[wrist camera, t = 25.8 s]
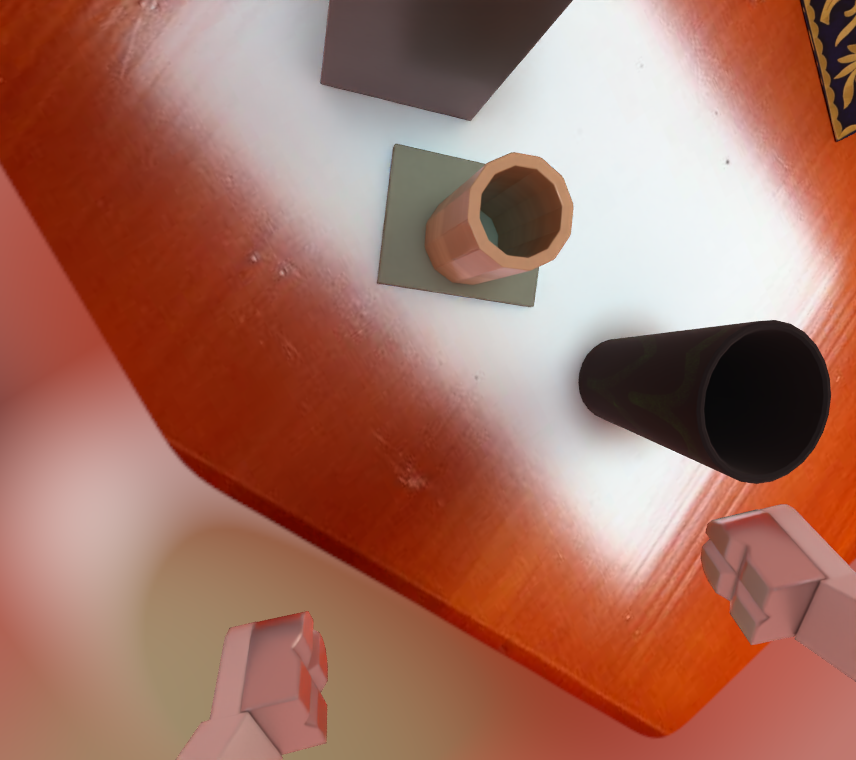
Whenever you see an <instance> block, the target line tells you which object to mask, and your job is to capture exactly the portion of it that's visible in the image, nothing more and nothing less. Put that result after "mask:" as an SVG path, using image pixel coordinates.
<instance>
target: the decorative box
mask: <svg viewBox="0 0 856 760" xmlns="http://www.w3.org/2000/svg"><path fill="white" fill-rule="evenodd" d="M801 4H802V7H803V11H804V15H805V19H806V23H807V27H808V31H809V35H810V39H811V43H812V47H813V51H814V55H815V59H816V63H817V67H818V71H819V74H820V78H821V82H822V86H823V90H824V94H825V98H826V102H827V106H828V110H829V114H830V118H831V122H832V126H833V130H834V134H835V138H836V141H837V142H838V141H840V140H842V139H844V138H846V137H848V136H850V135H852V134H854V133H856V0H801Z"/></svg>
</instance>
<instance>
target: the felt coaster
mask: <svg viewBox="0 0 856 760" xmlns="http://www.w3.org/2000/svg"><path fill="white" fill-rule="evenodd" d="M485 165H486V164H483V163H479V162H474V161H470V160H465V159H461V158H457V157H452V156H448V155H443V154H439V153H434V152H430V151H426V150H421V149H417V148H412V147H408V146H403V145H399V144H395V145H394V147H393V154H392V162H391V170H390V179H389V187H388V196H387V204H386V213H385V221H384V229H383V238H382V246H381V255H380V263H379V271H378V280H377V283H379V284H386V285H392V286H399V287H405V288H412V289H418V290H424V291H431V292H437V293H444V294H450V295H457V296H463V297H470V298H476V299H483V300H489V301H496V302H502V303H508V304H515V305H521V306H528V307H532V306H534V299H535V292H536V285H537V278H538V270H539V267H537V268H535V269H533V270H531V271H527V272H523V273H519V274H515V275H511V276H507V277H503V278H499V279H495V280H491V281H487V282H483V283H479V284H475V285H470V284H461V283H453V282H451V281H450V280H448V279H447V278H446V277H444V276H443V275H442V274H440V273H439V272H438V271H436V270H435V269H434V267H433V265H432V263H431V260H430V258H429V256H428V254H427V251H426V249H425V234H426V224H427V221H428V220H429V218H430V217H431V215H432V214H433V212H434V211H435V210H436V208H437V207H438V205H439V204H440V203H441V202H443V201H444V200H445V199H446V198H447V197H448V196H450V195H451V194H452V193H453V192H454V191H455V190H457V189H458V188H459V187H460V186H461V185H462V184H464V183H465V182H466V181H467V180H468V179H469V178H471V177H472V176H473V175H474V174H475V173H476V172H478V171H479V170H480V169H481V168H482V167H483V166H485ZM480 221H481V223H482V225H483V228H484V230H485V233H486V235H487V237H488V240H489V241H490V242H491V243H493V244H494V245H495V246H496V247H498V237H499V236H498V233H497V231H496V228H495V226H494V223H493V221H492V219H491V218H490V217H489V216H487V215H486V214H485V213H484V212H482V211H481V210H480Z"/></svg>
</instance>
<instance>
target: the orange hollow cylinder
mask: <svg viewBox="0 0 856 760" xmlns="http://www.w3.org/2000/svg"><path fill="white" fill-rule="evenodd" d="M480 210H481V211H482V212H484V213H485V214H486V215H487V216H489V217H490V218H491V219H492V221H493V223H494V226H495V228H496V231H497V233H498V236H499V237H498V247H496V246H495V245H494V244H493V243H491V242H490V241H489V240H488V237H487V235H486V233H485V230H484V228H483V225H482V223H481V221H480ZM572 216H573V202H572V200H571V197H570V194H569V192H568V189H567V186H566V184H565V181H564V178H563V177H562V176H561V175H560V174H559V173H558V172H557V171H556V170H555V169H554V168H552V167H551V166H550V165H549V164H548V163H547V162H546V161H545V160H543V159H542V158H540V157H537V156H531V155H526V154H520V153H515V152H513V153H509V154H507V155H505V156H502V157H500V158H498V159H495V160H493V161H491V162H488V163H487V164H486V165H485V166H483V167H482V168H481V169H480V170H479V171H478V172H476V173H475V174H474V175H473V176H472V177H471V178H469V179H468V180H467V181H466V182H465V183H464V184H462V185H461V186H460V187H459V188H458V189H457V190H455V191H454V192H453V193H452V194H451V195H450V196H448V197H447V198H446V199H445V200H444V201H443V202H441V203H440V204H439V205H438V207H437V208H436V210H435V211H434V212H433V214H432V215H431V217H430V218H429V220H428V221H427V224H426V234H425V249H426V251H427V254H428V256H429V258H430V260H431V263H432V265H433V267H434V269H435V270H436V271H438V272H439V273H440V274H442V275H443V276H444V277H446V278H447V279H448V280H450V281H451V282H453V283H461V284H470V285H475V284H479V283H483V282H487V281H491V280H495V279H499V278H503V277H507V276H511V275H515V274H519V273H523V272H527V271H531V270H533V269H535V268H537V267H539V266H541V265H544V264H546V263H548V262H550V261H552V260H554V259H555V258H556V256H557V255H558V253H559V252H560V250H561V249H562V247H563V246H564V244H565V243H566V241H567V240H568V238H569V237H570V234H571V226H572Z"/></svg>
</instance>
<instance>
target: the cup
mask: <svg viewBox="0 0 856 760" xmlns="http://www.w3.org/2000/svg"><path fill="white" fill-rule="evenodd" d="M579 390H580V394H581V397H582V400H583V402H584V403H585V405H586V406H587V408H588V409H589V410H590V411H591V412H592V413H594V414H595V415H597V416H599V417H601V418H603V419H605V420H607V421H609V422H612V423H614V424H616V425H618V426H620V427H623V428H625V429H627V430H629V431H631V432H634V433H636V434H638V435H640V436H642V437H644V438H647V439H649V440H651V441H653V442H655V443H658V444H660V445H662V446H664V447H666V448H669V449H671V450H673V451H675V452H677V453H679V454H682V455H684V456H686V457H688V458H690V459H693V460H695V461H697V462H699V463H701V464H704V465H706V466H708V467H710V468H712V469H715V470H717V471H719V472H721V473H723V474H725V475H728V476H730V477H732V478H734V479H736V480H739V481H741V482H748V483H755V484H758V483H764V482H771V481H774V480H776V479H779V478H781V477H783V476H785V475H787V474H789V473H790V472H791V471H793V470H794V469H795V468H796V467H798V466H799V465H800V464H802V463H803V462H804V460H805V459H806V458H807V457H808V456H809V454H810V453H811V452H812V451H813V450H814V448H815V446H816V445H817V443H818V441H819V439H820V437H821V435H822V434H823V431H824V428H825V425H826V421H827V418H828V415H829V408H830V400H831V390H830V378H829V374H828V370H827V367H826V363H825V360H824V358H823V357H822V355H821V353H820V351H819V349H818V347H817V346H816V344H815V343H814V342H813V341H812V340H811V339H810V338H809V337H808V335H807V334H806V333H805V332H803V331H802V330H800V329H798V328H797V327H795V326H793V325H792V324H789V323H785V322H781V321H777V320H770V321H756V322H748V323H740V324H732V325H724V326H716V327H708V328H700V329H692V330H684V331H676V332H668V333H660V334H652V335H644V336H636V337H628V338H620V339H611V340H608V341H605V342H602V343H600V344H599V345H597V346H596V347H594V348H593V349H592V350H591V351H590V353H589V354H588V355H587V356H586V358H585V360H584V362H583V363H582V367H581V370H580V373H579Z"/></svg>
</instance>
